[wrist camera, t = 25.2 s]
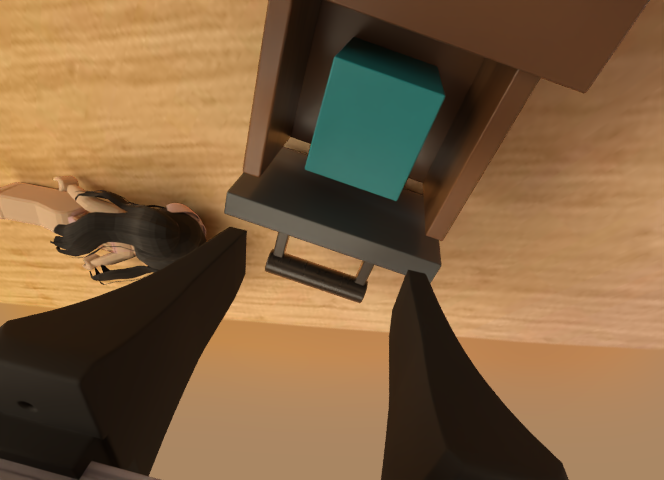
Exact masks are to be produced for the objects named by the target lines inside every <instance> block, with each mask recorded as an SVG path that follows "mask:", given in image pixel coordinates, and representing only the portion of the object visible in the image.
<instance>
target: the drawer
mask: <svg viewBox="0 0 664 480" xmlns="http://www.w3.org/2000/svg"><path fill="white" fill-rule="evenodd" d="M353 37H356V38H359V39H362V40H364V41H367V42H370V43H373V44H376V45H378V46H381V47H384V48H387V49H390V50H392V51H395V52H398V53H401V54H404V55H406V56H409V57H412V58H415V59H418V60H420V61H423V62H426V63H429V64H432V65H434V66H437V67H438V71H439V74H440V78H441V82H442V85H443V89H444V92H445V99H444V101H443V103H442V106H441V108H440V110H439V112H438V114H437V116H436V119H435V121H434V123H433V125H432V127H431V129H430V131H429V134H428V136H427V138H426V140H425V142H424V144H423V147H422V149H421V151H420V153H419V155H418V157H417V159H416V162H415V164H414V166H413V168H412V170H411V172H410V175H409V177H408V178H411V179H414V180H416V181H419V182H422V183H423V195H421V194H418V193H415V192H412V191H409V190H406V189H404V188H403V190H402V192H401V194H400V196H399V198H398V200H397V201H394V200H391V199H388V198H385V197H383V196H380V195H377V194H374V193H371V192H368V191H365V190H362V189H359V188H357V187H354V186H351V185H348V184H345V183H342V182H339V181H336V180H333V179H331V178H328V177H325V176H322V175H319V174H316V173H313V172H310V171H307V170H305V165H306V161H307V157H308V155H306V154H303V153H300V152H297V151H294V150H291V149H288V148H285V147H283V146H284V145H285V143H286V142H287V141H288V139H289V138H290V137H293V138H296V139H299V140H301V141H304V142H307V143H310V144H311V142H312V138H313V135H314V131H315V127H316V123H317V120H318V116H319V112H320V108H321V105H322V101H323V97H324V93H325V89H326V86H327V82H328V78H329V74H330V71H331V67H332V63H333V59H334V57H335V56H336V55H337V54H338V53H339V52H340V51H341V49H342V48H343V47H344V46H345V45H346V44H347V43H348V42H349V41H350V40H351V39H352V38H353ZM539 79H540V77H537V76H534V75H532V74H529V73H526V72H523V71H520V70H518V69H515V68H512V67H509V66H507V65H504V64H501V63H498V62H495V61H493V60H490V59H487V58H484V57H482V56H479V55H476V54H473V53H470V52H468V51H465V50H462V49H459V48H456V47H454V46H451V45H448V44H445V43H443V42H440V41H437V40H434V39H431V38H429V37H426V36H423V35H420V34H418V33H415V32H412V31H409V30H406V29H404V28H401V27H398V26H395V25H392V24H390V23H387V22H384V21H381V20H379V19H376V18H373V17H370V16H367V15H365V14H362V13H359V12H356V11H353V10H351V9H348V8H345V7H342V6H340V5H337V4H334V3H331V2H328V1H326V0H268V6H267V13H266V19H265V26H264V32H263V39H262V46H261V52H260V59H259V65H258V72H257V79H256V85H255V92H254V98H253V105H252V112H251V118H250V125H249V131H248V138H247V145H246V151H245V158H244V164H243V172H244V173H243V174H242V175H241V176H240V177H239V179H238V180H237V181H236V182H235V183H234V185H233V186H232V187H231V188H230V189H229V190H228V192H227V196H226V203H225V211H224V213H225V214H227V215H230V216H233V217H236V218H239V219H242V220H245V221H248V222H251V223H254V224H257V225H260V226H263V227H266V228H269V229H272V230H274V231H277V232H278V236H277V240H276V244H275V248H274V249H272V251H271V252H270V254H269V257H268V260H267V263H266V266H265V271H266V272H269V273H272V274H275V275H278V276H281V277H284V278H287V279H290V280H293V281H296V282H299V283H302V284H305V285H307V286H310V287H313V288H316V289H319V290H322V291H325V292H328V293H331V294H334V295H337V296H340V297H343V298H346V299H349V300H352V301H355V302H358V303H361V302H362V300H363V298H364V295H365V293H366V289H367V284H368V282H367V279H368V277H369V274H370V272H371V270H372V268H373V266H374V265H377V266H380V267H383V268H386V269H389V270H392V271H395V272H398V273H401V274H404V275H406V273H407V271H408V270H412V271H416V272H421V273H425V274H426V275H427V277H428V280H429V282H430V283H431V281H432V280H433V278H434V277H435V275H436V274H437V272H438V270H439V269H440V267H441V256H440V246H439V240H440V241H443V239H444V238H445V236H446V234H447V233H448V231H449V229H450V228H451V226H452V224H453V223H454V221H455V219H456V218H457V216H458V214H459V213H460V211H461V209H462V208H463V206H464V204H465V203H466V201H467V199H468V198H469V196H470V194H471V193H472V191H473V189H474V188H475V186H476V184H477V183H478V181H479V179H480V178H481V176H482V174H483V173H484V171H485V169H486V168H487V166H488V164H489V163H490V161H491V159H492V158H493V156H494V154H495V153H496V151H497V149H498V148H499V146H500V144H501V143H502V141H503V139H504V138H505V136H506V134H507V133H508V131H509V129H510V128H511V126H512V124H513V123H514V121H515V119H516V118H517V116H518V114H519V113H520V111H521V109H522V108H523V106H524V104H525V103H526V101H527V99H528V98H529V96H530V94H531V93H532V91H533V89H534V88H535V86H536V84H537V83H538V81H539ZM289 236H292V237H295V238H298V239H301V240H304V241H307V242H310V243H313V244H316V245H318V246H321V247H324V248H327V249H330V250H333V251H336V252H339V253H342V254H345V255H348V256H351V257H354V258H357V259H360V260H363V261H362V264H361V266H360V268H359V270H358V273H357V275H356V277H354V276H351V275H348V274H345V273H343V272H340V271H337V270H334V269H331V268H328V267H325V266H322V265H319V264H316V263H313V262H310V261H307V260H304V259H301V258H298V257H295V256H292V255H289V254H286V253H285V251H286V247H287V244H288V240H289Z"/></svg>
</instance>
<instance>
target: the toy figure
mask: <svg viewBox="0 0 664 480" xmlns="http://www.w3.org/2000/svg"><path fill="white" fill-rule="evenodd" d="M53 180H54V181H58V184H59V190H58V189H52V188H47V187H42V186H37V185H32V184H27V183H20V182H15V183H12V184H9V185H6V186H3V187H0V219H8V220H13V221H18V222H24V223H29V224H34V225H39V226H42V227H44V228H46V229H48V230H50V231H52V232H54V233H56V234H59V235H61V236H63V237H60V236H56V237H55V239H54V242H51V241H50V243H53V244H55V246H57V247H56V249H57V250H58V252H60V253H63V254H66V255H71V256H80V255H84V254H88V253H90V252H92V251H93V250H94V249H96V248H99V249H98V250H100V249H102V250H106V251H109V252H111V253H109V254H106V255H103V256H101V257H100V256H99V255H96V254H94V253H96V252H97V251H98V250H96V251H94V252H93V253H91V254H89V255H88V256H86V257H84V259H83V261H84V262H85V264H84V265H83V267H84V268H85V269H88V270H92V269H94V268H95V272H96V275H95V276H92V274H91V271H89V272H90V275H91V278H92V279H93V280H96V281H97V280H98V281H105V280H114V279H129V278H135V277H138V276H141V275H144V274H146V273H151V272H154V273H155V272H157V271H159V270H161V269H163V268H164V267H166V266H168V265H170V264H171V263H173V262H175V261H177V260H179V259H180V258H182V257H184V256H185V255H187V254H188V253H190V252H192V251H193V250H195V249H197V248H198V247H200V246H201V245H203V244H204V243H206V237H205V236H206V228H205V226H204V225H203V224H202V221H201V219H200V218H199V216H198V215H197V214H196V213H195V212H193V211H192V210H191V209H190V208H188V207H187V206H185V205H183V204H180V203H171V204H168V205H167V206H166V207H161V206H155V205H149V206H145V205H138V204H134V203H132V204H134V205H130V204H129V203H131V202H129V201H128V202H126V201H125V200H124V199H125V198H124V197H122V198H121V196H119V195H117V194H114V193H111V192H107V191H104V190H98V191H103V192H102V193H97V192H96V191H85V190H84V189H82V188H80V187H79V184H78V180H77V179H76V178H75V177H73V176H60V177H54V178H53ZM65 191H67V192H65ZM97 197H99V198H105V199H108V200H110V201H111V202H112V203H114V204H112V203H109V202H106V201H103V200H100V199H98V198H97ZM123 198H124V199H123ZM151 207H160V208H162V209H159V210H158V209H154V208H151ZM60 247H61V248H63V249H66V250H60ZM135 256H137V258H138V259H139V260H141V261H142V262H144V263H145V264H147V265H148V266H147V267H146V266H136V267H132V268H126V269H118V270H109V269H108V268H107V267H106V266H105V265H113V264H116V263H119V262H122V261H125V260H128V259H131V258H133V257H135ZM72 258H73V257H72ZM80 258H83V257H80ZM98 266H101V267H102V270H103V273H99V271H98V270H97V269H96V267H98ZM148 276H149V275H148ZM145 277H146V276H145ZM140 279H141V278H140ZM136 280H138V279H136ZM131 281H133V280H131ZM117 282H122V281H117ZM100 283H101V282H100ZM112 283H113V282H112ZM101 284H103V283H101ZM109 284H110V283H109ZM103 285H105V284H103Z"/></svg>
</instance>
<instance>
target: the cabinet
mask: <svg viewBox="0 0 664 480" xmlns="http://www.w3.org/2000/svg"><path fill="white" fill-rule="evenodd" d="M326 1H328V2H331V3H334V4H337V5H340V6H342V7H345V8H348V9H351V10H353V11H356V12H359V13H362V14H365V15H367V16H370V17H373V18H376V19H379V20H381V21H384V22H387V23H390V24H392V25H395V26H398V27H401V28H404V29H406V30H409V31H412V32H415V33H418V34H420V35H423V36H426V37H429V38H431V39H434V40H437V41H440V42H443V43H445V44H448V45H451V46H454V47H456V48H459V49H462V50H465V51H468V52H470V53H473V54H476V55H479V56H482V57H484V58H487V59H490V60H493V61H495V62H498V63H501V64H504V65H507V66H509V67H512V68H515V69H518V70H520V71H523V72H526V73H529V74H532V75H534V76H537V77H540V78H543V79H546V80H548V81H551V82H554V83H557V84H559V85H562V86H565V87H568V88H571V89H573V90H576V91H579V92H582V93H586V92H587V91H588V89H589V88H590V86H591V85H592V84H593V82H594V81H595V79H596V78H597V76H598V75H599V73H600V72H601V70H602V69H603V68H604V66H605V65H606V63H607V62H608V60H609V59H610V57H611V56H612V54H613V53H614V52H615V50H616V49H617V47H618V46H619V44H620V43H621V41H622V40H623V38H624V37H625V36H626V34H627V33H628V31H629V30H630V28H631V27H632V25H633V24H634V22H635V21H636V20H637V18H638V17H639V15H640V14H641V12H642V11H643V9H644V8H645V6H646V5H647V4H648V2H649V1H650V0H326Z"/></svg>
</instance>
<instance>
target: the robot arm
mask: <svg viewBox="0 0 664 480" xmlns="http://www.w3.org/2000/svg"><path fill="white" fill-rule="evenodd" d="M246 235H247V231H245V230H241V229H237V228H233V227H229V228H227V229H226V230H224V231H223V232H221V233H219V234H218V235H216V236H215V237H213V238H212V239H210V240H209V241H207V242H206V243H204V244H203V245H201V246H200V247H198V248H197V249H195V250H193V251H192V252H190V253H188V254H187V255H185V256H184V257H182V258H180V259H179V260H177V261H175V262H173V263H171V264H170V265H168V266H166V267H164V268H163V269H161V270H159V271H157V272H155V273H153V274H151V275H149V276H147V277H144V278H142V279H140V280H138V281H136V282H133V283H131V284H129V285H126V286H124V287H121V288H119V289H116V290H113V291H111V292H108V293H105V294H103V295H100V296H97V297H95V298H92V299H88V300H85V301H82V302H79V303H76V304H73V305H69V306H66V307H62V308H59V309H55V310H52V311H47V312H43V313H39V314H35V315H31V316H27V317H23V318H18V319H14V320H10V321H7V322H6V323H5V324H3V325H2V326H1V327H0V480H160V479H156V478H152V477H149V474H150V471H151V468H152V466H153V463H154V461H155V458H156V456H157V454H158V451H159V448H160V446H161V444H162V441H163V439H164V436H165V434H166V432H167V429H168V427H169V424H170V422H171V420H172V417H173V415H174V412H175V410H176V408H177V406H178V404H179V401H180V399H181V397H182V394H183V392H184V390H185V388H186V385H187V383H188V381H189V379H190V377H191V375H192V373H193V371H194V368H195V366H196V364H197V362H198V359H199V358H200V356H201V354H202V352H203V351H204V349H205V347H206V345H207V344H208V342H209V340H210V339H211V337H212V335H213V334H214V332H215V330H216V329H217V327H218V325H219V324H220V322H221V320H222V319H223V317H224V316H225V314H226V312H227V310H228V309H229V307H230V305H231V304H232V302H233V300H234V299H235V297H236V294H237V292H238V290H239V288H240V285H241V283H242V280H243V278H244V276H245V267H246ZM381 480H568V477H567V475H566V472H565V469H564V467H563V464H562V463H561V461H559V460H558V459H557V458H556V457H555V456H554V455H553V454H552V453H551V452H550V451H549V450H548V449H547V448H546V447H545V446H544V445H543V444H542V443H541V442H540V441H539V440H537V438H536V437H534V436H533V435H532V434H531V433H530V432H529V431H528V430H527V429H526V427H525V426H524V425H523V424H522V423H521V422H520V421H519V420H518V419H517V418H516V417H515V416H514V414H513V413H512V412H511V411H510V410H509V409H508V408H507V407H506V406H505V404H504V403H503V402H502V401H501V400H500V398H499V397H498V396H497V395H496V394H495V392H494V391H493V390H492V389H491V387H490V386H489V385H488V384H487V383H486V381H485V380H484V379H483V377H482V376H481V375H480V373H479V372H478V370H477V369H476V368H475V366H474V365H473V363H472V362H471V360H470V359H469V357H468V356H467V354H466V353H465V351H464V349H463V348H462V346H461V345H460V343H459V341H458V339H457V338H456V336H455V334H454V332H453V331H452V329H451V327H450V325H449V323H448V321H447V319H446V317H445V315H444V313H443V311H442V309H441V307H440V305H439V303H438V301H437V298H436V296H435V294H434V292H433V289H432V287H431V285H430V282H429V280H428V277H427V275H426V274H425V273H421V272H416V271H412V270H408V271H407V273H406V276H405V278H404V281H403V284H402V286H401V289H400V292H399V294H398V297H397V299H396V302H395V305H394V307H393V310H392V317H391V325H390V334H389V411H388V421H387V431H386V442H385V450H384V459H383V468H382V476H381Z"/></svg>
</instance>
